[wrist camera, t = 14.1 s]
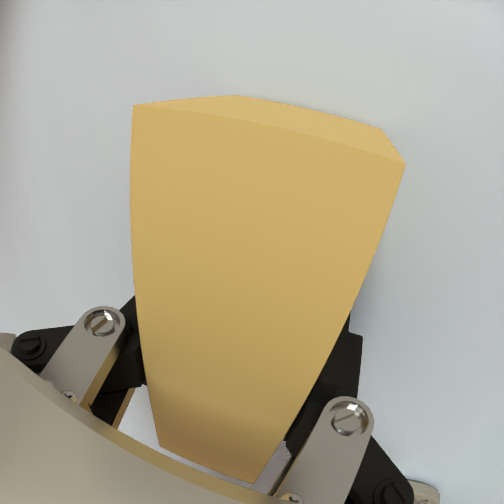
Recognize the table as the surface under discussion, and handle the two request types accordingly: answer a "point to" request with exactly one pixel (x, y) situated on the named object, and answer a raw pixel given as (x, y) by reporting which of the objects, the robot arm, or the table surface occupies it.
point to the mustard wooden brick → (247, 262)
